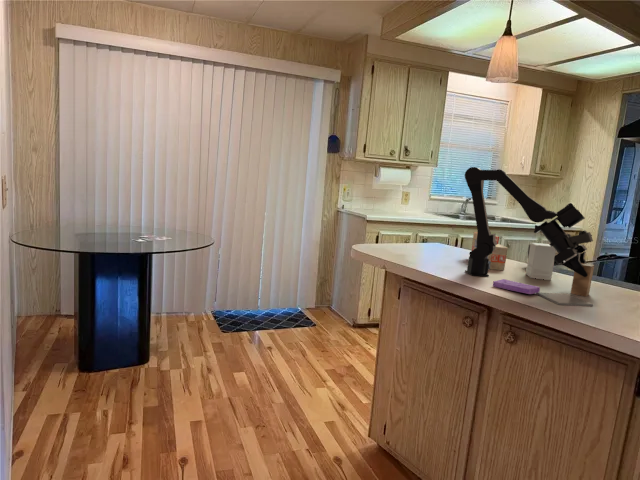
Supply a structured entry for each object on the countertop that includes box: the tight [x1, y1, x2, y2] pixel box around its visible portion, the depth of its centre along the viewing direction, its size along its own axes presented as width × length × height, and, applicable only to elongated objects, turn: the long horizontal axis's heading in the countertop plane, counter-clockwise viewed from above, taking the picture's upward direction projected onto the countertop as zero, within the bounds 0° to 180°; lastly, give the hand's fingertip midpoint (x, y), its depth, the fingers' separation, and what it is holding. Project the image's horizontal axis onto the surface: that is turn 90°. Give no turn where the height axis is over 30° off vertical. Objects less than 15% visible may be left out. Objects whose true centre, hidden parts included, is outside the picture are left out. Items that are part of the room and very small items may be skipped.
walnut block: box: [570, 262, 595, 298], centre depth 145 cm, size 4×4×10 cm
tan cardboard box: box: [471, 231, 509, 271], centre depth 185 cm, size 21×6×12 cm, turn 1°
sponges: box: [492, 278, 541, 295], centre depth 144 cm, size 7×13×2 cm, turn 39°
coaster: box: [535, 291, 594, 307], centre depth 136 cm, size 11×11×1 cm
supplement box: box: [525, 242, 557, 281], centre depth 166 cm, size 7×7×13 cm
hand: (588, 275), depth 144 cm, fingers closed on walnut block, 4 cm apart
